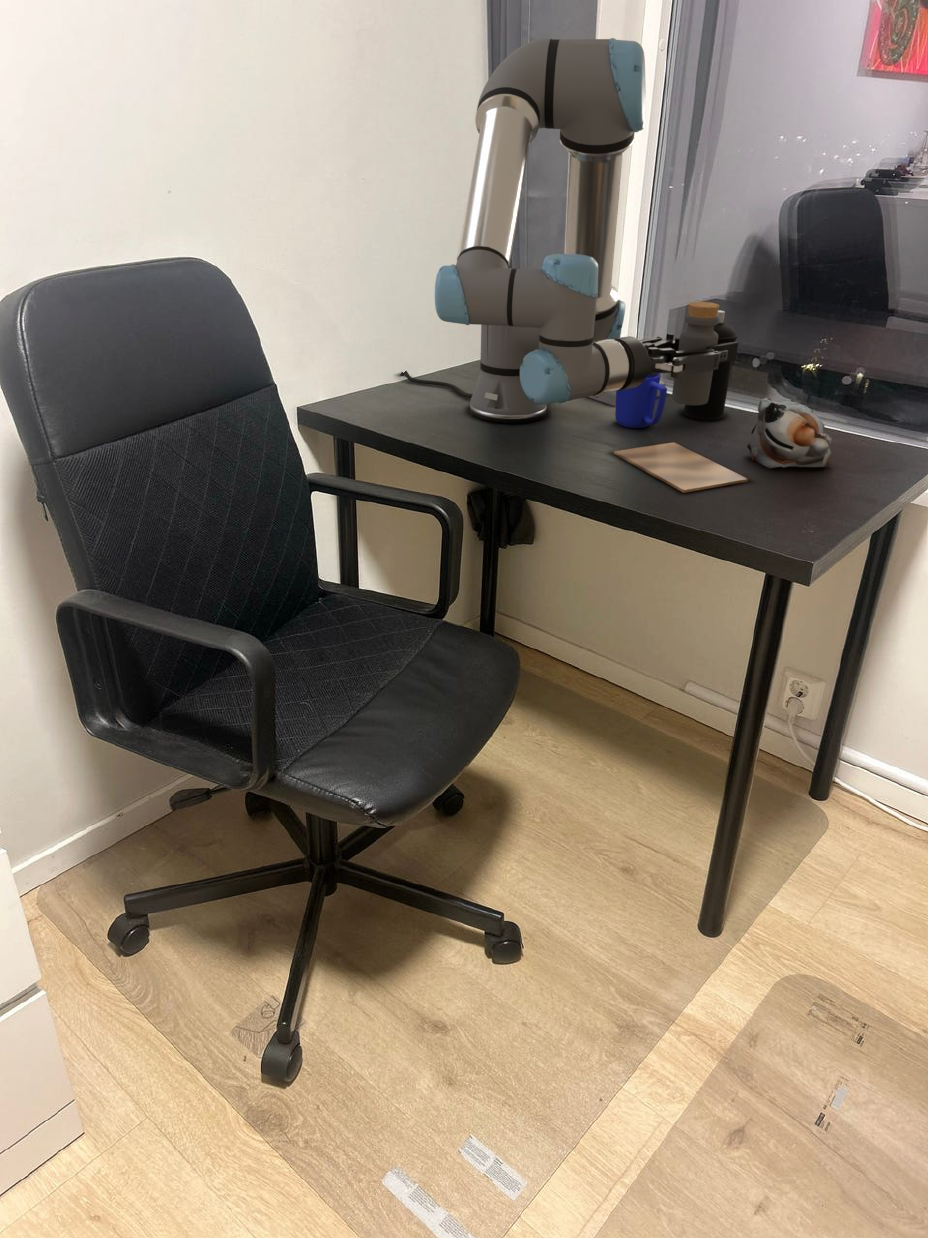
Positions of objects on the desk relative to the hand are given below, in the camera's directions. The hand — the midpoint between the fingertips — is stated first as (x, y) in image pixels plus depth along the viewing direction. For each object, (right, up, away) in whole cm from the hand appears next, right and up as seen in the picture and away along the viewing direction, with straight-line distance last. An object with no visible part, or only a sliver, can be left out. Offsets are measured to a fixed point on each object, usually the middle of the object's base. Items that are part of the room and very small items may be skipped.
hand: (718, 346), depth 141 cm
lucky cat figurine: (+15, -17, +11) cm, 25 cm away
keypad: (-7, +4, +47) cm, 47 cm away
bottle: (-4, -9, +2) cm, 10 cm away
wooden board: (-4, -18, +9) cm, 20 cm away
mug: (-7, -7, +27) cm, 29 cm away
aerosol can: (+7, -3, +35) cm, 36 cm away
